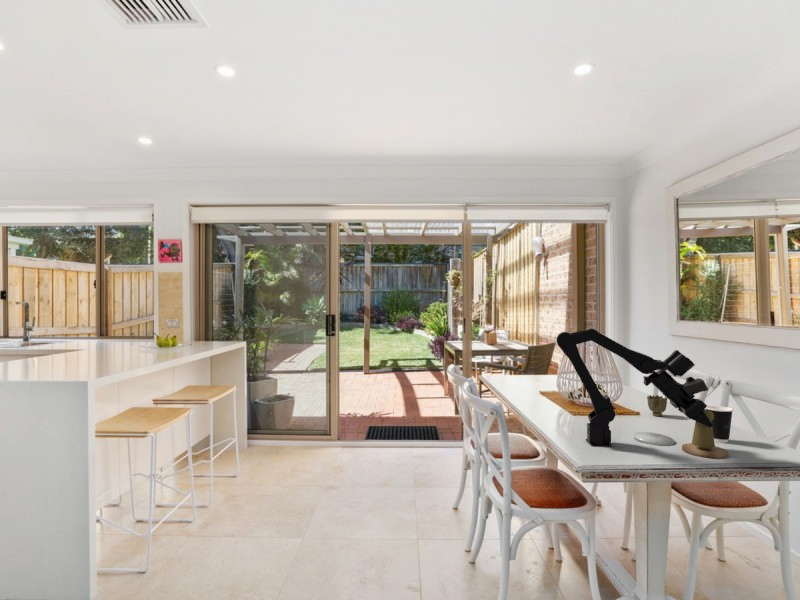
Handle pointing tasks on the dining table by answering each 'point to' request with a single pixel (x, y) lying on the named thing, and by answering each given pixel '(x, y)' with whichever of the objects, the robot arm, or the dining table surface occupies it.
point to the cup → (657, 404)
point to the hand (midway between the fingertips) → (708, 424)
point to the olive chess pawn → (704, 433)
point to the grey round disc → (653, 438)
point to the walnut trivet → (705, 451)
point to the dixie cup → (721, 422)
